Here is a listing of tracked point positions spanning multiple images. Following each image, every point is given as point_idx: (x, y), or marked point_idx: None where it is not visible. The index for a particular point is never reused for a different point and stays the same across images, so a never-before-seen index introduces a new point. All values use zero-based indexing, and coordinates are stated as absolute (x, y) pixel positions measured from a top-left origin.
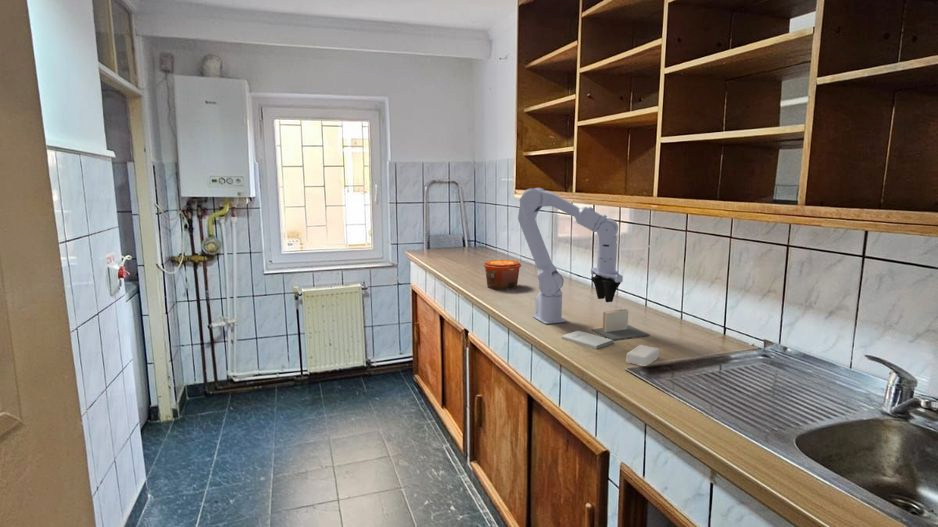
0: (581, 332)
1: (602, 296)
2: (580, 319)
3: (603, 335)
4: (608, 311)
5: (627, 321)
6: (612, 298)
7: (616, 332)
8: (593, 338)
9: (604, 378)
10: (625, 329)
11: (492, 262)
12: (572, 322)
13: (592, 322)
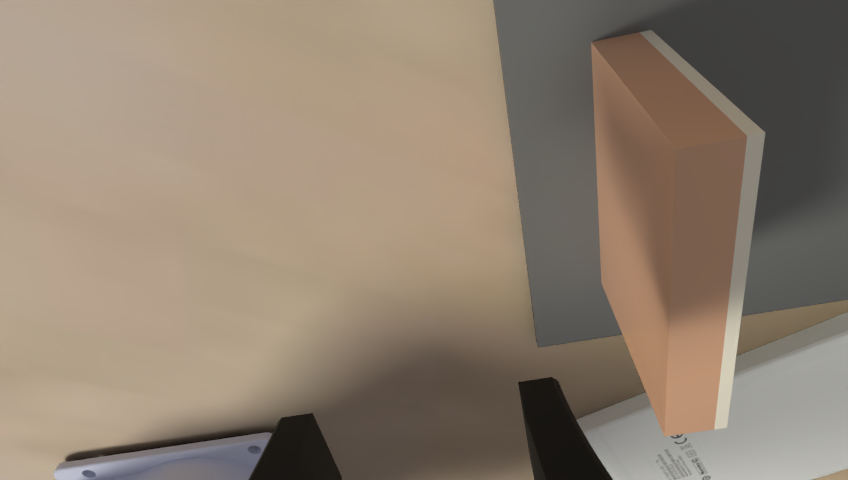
0: (630, 442)
1: (320, 472)
2: (180, 323)
3: None
4: (682, 392)
5: (689, 70)
6: (576, 431)
7: None
8: (798, 418)
9: None
10: None
11: None
12: (280, 396)
13: (286, 260)
